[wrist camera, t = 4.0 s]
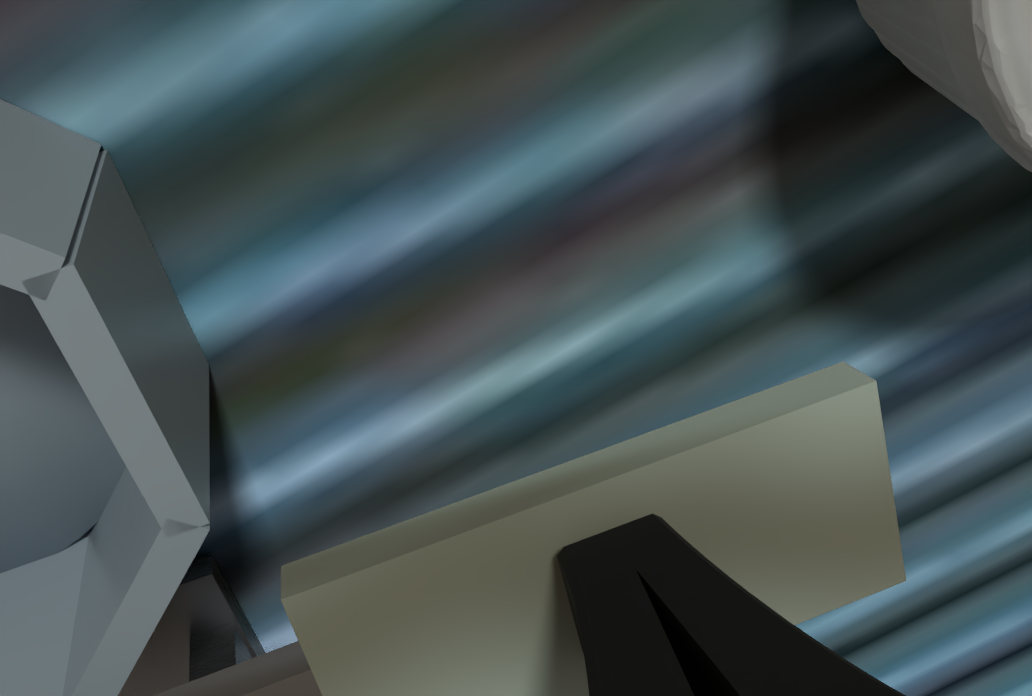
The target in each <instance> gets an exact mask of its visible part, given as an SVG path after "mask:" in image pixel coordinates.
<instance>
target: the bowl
mask: <svg viewBox="0 0 1032 696" xmlns="http://www.w3.org/2000/svg"><path fill="white" fill-rule="evenodd" d="M100 147H101V144H100V143H97V142H95V141H93V140H91V139H88V138H86V137H84V136H82V135H79V134H77V133H75V132H73V131H70V130H68V129H66V128H64V127H61V126H59V125H57V124H55V123H52V122H50V121H48V120H46V119H43V118H41V117H39V116H37V115H34V114H32V113H30V112H28V111H25V110H23V109H21V108H19V107H16V106H14V105H12V104H9V103H7V102H5V101H3V100H0V696H118V694H119V693H120V691H121V689H122V687H123V685H124V684H125V682H126V680H127V678H128V676H129V675H130V673H131V671H132V669H133V667H134V666H135V664H136V662H137V660H138V658H139V657H140V655H141V653H142V651H143V649H144V648H145V646H146V644H147V642H148V640H149V639H150V637H151V635H152V633H153V631H154V630H155V628H156V626H157V624H158V622H159V621H160V619H161V617H162V615H163V613H164V612H165V610H166V608H167V606H168V604H169V602H170V601H171V599H172V597H173V595H174V593H175V592H176V590H177V588H178V586H179V584H180V583H181V581H182V579H183V577H184V575H185V574H186V572H187V570H188V568H189V566H190V565H191V563H192V561H193V559H194V557H195V556H196V554H197V552H198V550H199V548H200V547H201V545H202V543H203V541H204V539H205V538H206V536H207V534H208V532H209V530H210V452H209V364H208V362H207V360H206V358H205V356H204V354H203V352H202V350H201V347H200V345H199V343H198V341H197V339H196V337H195V335H194V333H193V331H192V328H191V326H190V324H189V322H188V320H187V318H186V316H185V314H184V311H183V309H182V307H181V305H180V303H179V301H178V299H177V297H176V295H175V292H174V290H173V288H172V286H171V284H170V282H169V280H168V278H167V275H166V273H165V271H164V269H163V267H162V265H161V263H160V261H159V258H158V256H157V254H156V252H155V250H154V248H153V246H152V244H151V242H150V239H149V237H148V235H147V233H146V231H145V229H144V227H143V225H142V222H141V220H140V218H139V216H138V214H137V212H136V210H135V208H134V206H133V203H132V201H131V199H130V197H129V195H128V193H127V191H126V189H125V186H124V184H123V182H122V180H121V178H120V176H119V174H118V172H117V169H116V167H115V165H114V163H113V161H112V159H111V157H110V155H109V153H108V150H105V151H102V152H99V150H100Z"/></svg>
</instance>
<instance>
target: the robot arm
mask: <svg viewBox="0 0 1032 696" xmlns="http://www.w3.org/2000/svg"><path fill="white" fill-rule="evenodd" d="M557 559H558V563H559V566H560V570H561V574H562V577H563V581H564V585H565V589H566V592H567V596H568V600H569V603H570V607H571V611H572V614H573V618H574V622H575V625H576V629H577V633H578V636H579V640H580V644H581V647H582V651H583V653H584V658H585V665H586V673H587V680H588V688H589V696H905V695H904V694H902V693H900V692H898V691H897V690H895V689H893V688H891V687H889V686H888V685H886V684H884V683H883V682H881V681H879V680H878V679H876V678H874V677H873V676H871V675H869V674H868V673H866V672H864V671H863V670H861V669H860V668H858V667H856V666H855V665H853V664H852V663H850V662H848V661H847V660H845V659H844V658H842V657H841V656H839V655H838V654H836V653H835V652H833V651H832V650H830V649H829V648H827V647H826V646H824V645H822V644H821V643H819V642H818V641H816V640H815V639H813V638H812V637H810V636H809V635H808V634H806V633H805V632H803V631H802V630H800V629H799V628H797V627H796V626H795V625H793V624H792V623H790V622H789V621H787V620H786V619H785V618H783V617H782V616H781V615H779V614H778V613H777V612H775V611H774V610H773V609H771V608H770V607H769V606H767V605H766V604H764V603H763V602H762V601H760V600H759V599H758V598H756V597H755V596H754V595H752V594H751V593H750V592H748V591H747V590H746V589H744V588H743V587H742V586H741V585H739V584H738V583H737V582H735V581H734V580H733V579H732V578H730V577H729V576H728V575H727V574H725V573H724V572H723V571H722V570H721V569H719V568H718V567H717V566H716V565H715V564H713V563H712V562H711V561H710V560H708V559H707V558H706V557H705V556H704V555H703V554H701V553H700V552H699V551H698V550H697V549H695V548H694V547H693V546H692V545H691V544H690V543H689V542H688V541H686V540H685V539H684V538H683V537H682V536H681V535H680V534H679V533H678V532H676V531H675V530H674V529H673V528H672V527H671V526H670V525H669V524H668V523H667V522H666V521H665V520H664V519H663V518H662V517H659V516H657V515H655V514H653V513H652V514H650V515H647V516H644V517H642V518H639V519H636V520H634V521H631V522H628V523H626V524H623V525H620V526H618V527H615V528H612V529H610V530H607V531H604V532H602V533H599V534H596V535H594V536H591V537H588V538H586V539H583V540H580V541H578V542H575V543H572V544H570V545H567V546H564V547H563V548H562V550H561V551H560V553H559V554H558V555H557Z"/></svg>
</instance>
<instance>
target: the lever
mask: <svg viewBox="0 0 1032 696" xmlns="http://www.w3.org/2000/svg"><path fill="white" fill-rule="evenodd" d="M652 513H653V514H655V515H657V516H659V517H662V518H663V519H664V520H665V521H666V522H667V523H668V524H669V525H670V526H671V527H672V528H673V529H674V530H675V531H676V532H678V533H679V534H680V535H681V536H682V537H683V538H684V539H685V540H686V541H688V542H689V543H690V544H691V545H692V546H693V547H694V548H695V549H697V550H698V551H699V552H700V553H701V554H703V555H704V556H705V557H706V558H707V559H708V560H710V561H711V562H712V563H713V564H715V565H716V566H717V567H718V568H719V569H721V570H722V571H723V572H724V573H725V574H727V575H728V576H729V577H730V578H732V579H733V580H734V581H735V582H737V583H738V584H739V585H741V586H742V587H743V588H744V589H746V590H747V591H748V592H750V593H751V594H752V595H754V596H755V597H756V598H758V599H759V600H760V601H762V602H763V603H764V604H766V605H767V606H769V607H770V608H771V609H773V610H774V611H775V612H777V613H778V614H779V615H781V616H782V617H783V618H785V619H786V620H787V621H789V622H790V623H792V624H793V625H796V624H799V623H801V622H804V621H806V620H809V619H811V618H814V617H816V616H819V615H821V614H824V613H826V612H829V611H832V610H834V609H837V608H839V607H842V606H844V605H847V604H849V603H852V602H854V601H857V600H859V599H862V598H864V597H867V596H869V595H872V594H874V593H877V592H879V591H882V590H884V589H887V588H889V587H892V586H894V585H897V584H899V583H902V582H904V581H906V576H905V569H904V563H903V556H902V549H901V543H900V536H899V529H898V523H897V516H896V509H895V502H894V496H893V489H892V482H891V476H890V469H889V462H888V456H887V449H886V442H885V436H884V429H883V422H882V415H881V409H880V402H879V395H878V389H877V382H876V380H874V379H872V378H871V377H869V376H867V375H865V374H864V373H862V372H860V371H858V370H857V369H855V368H853V367H852V366H850V365H848V364H846V363H845V362H841V363H838V364H835V365H832V366H830V367H827V368H824V369H821V370H819V371H816V372H813V373H810V374H808V375H805V376H802V377H799V378H797V379H794V380H791V381H788V382H786V383H783V384H780V385H777V386H775V387H772V388H769V389H766V390H764V391H761V392H758V393H755V394H753V395H750V396H747V397H744V398H742V399H739V400H736V401H733V402H731V403H728V404H725V405H722V406H720V407H717V408H714V409H711V410H709V411H706V412H703V413H700V414H698V415H695V416H692V417H689V418H687V419H684V420H681V421H678V422H676V423H673V424H670V425H667V426H665V427H662V428H659V429H657V430H654V431H651V432H648V433H646V434H643V435H640V436H637V437H635V438H632V439H629V440H626V441H624V442H621V443H618V444H615V445H613V446H610V447H607V448H604V449H602V450H599V451H596V452H593V453H591V454H588V455H585V456H582V457H580V458H577V459H574V460H571V461H569V462H566V463H563V464H560V465H558V466H555V467H552V468H549V469H547V470H544V471H541V472H538V473H536V474H533V475H530V476H527V477H525V478H522V479H519V480H516V481H514V482H511V483H508V484H505V485H503V486H500V487H497V488H494V489H492V490H489V491H486V492H483V493H481V494H478V495H475V496H472V497H470V498H467V499H464V500H461V501H459V502H456V503H453V504H450V505H448V506H445V507H442V508H439V509H437V510H434V511H431V512H428V513H426V514H423V515H420V516H417V517H415V518H412V519H409V520H406V521H404V522H401V523H398V524H395V525H393V526H390V527H387V528H384V529H382V530H379V531H376V532H373V533H371V534H368V535H365V536H362V537H360V538H357V539H354V540H351V541H349V542H346V543H343V544H340V545H338V546H335V547H332V548H329V549H327V550H324V551H321V552H318V553H316V554H313V555H310V556H307V557H305V558H302V559H299V560H296V561H294V562H291V563H288V564H285V565H283V566H281V602H282V604H283V606H284V609H285V611H286V613H287V616H288V618H289V620H290V622H291V625H292V627H293V629H294V632H295V634H296V636H297V639H298V642H295V643H292V644H290V645H287V646H284V647H281V648H279V649H276V650H273V651H271V652H268V653H265V654H263V655H260V656H257V657H255V658H252V659H249V660H247V661H244V662H241V663H239V664H236V665H233V666H231V667H228V668H225V669H223V670H220V671H217V672H215V673H212V674H209V675H207V676H204V677H201V678H199V679H196V680H193V681H191V682H188V683H185V684H183V685H180V686H177V687H175V688H172V689H169V690H167V691H164V692H161V693H159V694H156V695H153V696H589V688H588V680H587V673H586V665H585V658H584V653H583V651H582V647H581V644H580V640H579V636H578V633H577V629H576V625H575V622H574V618H573V614H572V611H571V607H570V603H569V600H568V596H567V592H566V589H565V585H564V581H563V577H562V574H561V570H560V566H559V563H558V559H557V555H558V554H559V553H560V551H561V550H562V548H563V547H564V546H567V545H570V544H572V543H575V542H578V541H580V540H583V539H586V538H588V537H591V536H594V535H596V534H599V533H602V532H604V531H607V530H610V529H612V528H615V527H618V526H620V525H623V524H626V523H628V522H631V521H634V520H636V519H639V518H642V517H644V516H647V515H650V514H652Z"/></svg>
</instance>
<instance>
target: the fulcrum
mask: <svg viewBox="0 0 1032 696" xmlns="http://www.w3.org/2000/svg"><path fill="white" fill-rule="evenodd" d="M263 654H265V652H264V650H263V648H262V646H261V645H260V643H259V641H258V639H257V637H256V635H255V633H254V632H253V630H252V628H251V626H250V624H249V622H248V620H247V619H246V617H245V615H244V613H243V611H242V609H241V607H240V606H239V604H238V602H237V600H236V598H235V596H234V594H233V593H232V591H231V589H230V587H229V585H228V583H227V581H226V580H225V578H224V576H223V574H222V572H221V570H220V568H219V567H218V565H217V563H216V561H215V559H214V557H213V555H212V554H209V555H206V556H203V557H200V558H198V559H195V560H193V561H192V563H191V565H190V566H189V568H188V570H187V572H186V574H185V575H184V577H183V579H182V581H181V583H180V584H179V586H178V588H177V590H176V592H175V593H174V595H173V597H172V599H171V601H170V602H169V604H168V606H167V608H166V610H165V612H164V613H163V615H162V617H161V619H160V621H159V622H158V624H157V626H156V628H155V630H154V631H153V633H152V635H151V637H150V639H149V640H148V642H147V644H146V646H145V648H144V649H143V651H142V653H141V655H140V657H139V658H138V660H137V662H136V664H135V666H134V667H133V669H132V671H131V673H130V675H129V676H128V678H127V680H126V682H125V684H124V685H123V687H122V689H121V691H120V693H119V694H118V696H153V695H156V694H159V693H161V692H164V691H167V690H169V689H172V688H175V687H177V686H180V685H183V684H185V683H188V682H191V681H193V680H196V679H199V678H201V677H204V676H207V675H209V674H212V673H215V672H217V671H220V670H223V669H225V668H228V667H231V666H233V665H236V664H239V663H241V662H244V661H247V660H249V659H252V658H255V657H257V656H260V655H263Z"/></svg>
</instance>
